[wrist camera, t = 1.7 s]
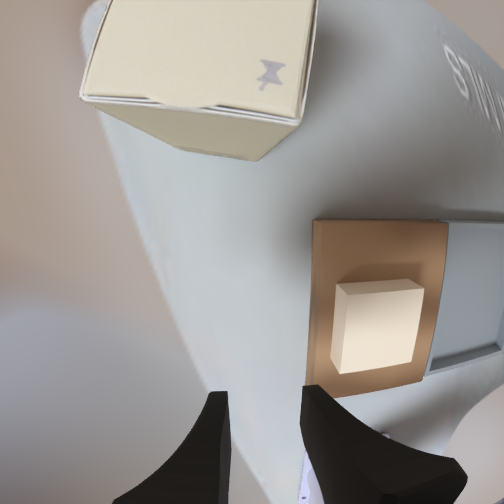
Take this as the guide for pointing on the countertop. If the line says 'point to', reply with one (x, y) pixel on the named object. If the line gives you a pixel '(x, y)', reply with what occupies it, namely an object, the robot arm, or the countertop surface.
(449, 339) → the tray
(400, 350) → the tile
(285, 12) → the box
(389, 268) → the plate
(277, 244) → the countertop surface
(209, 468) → the robot arm
